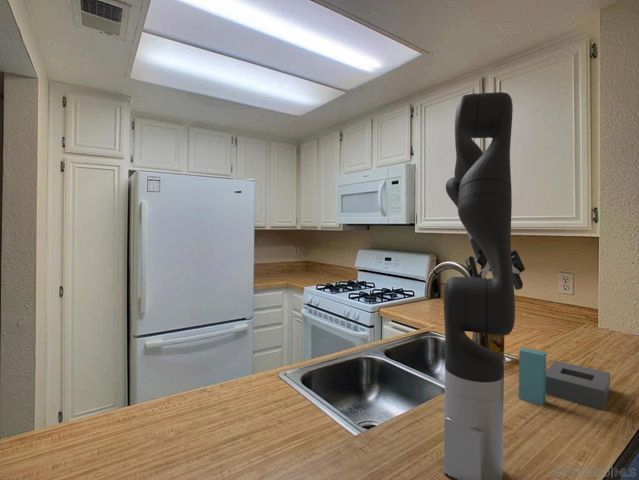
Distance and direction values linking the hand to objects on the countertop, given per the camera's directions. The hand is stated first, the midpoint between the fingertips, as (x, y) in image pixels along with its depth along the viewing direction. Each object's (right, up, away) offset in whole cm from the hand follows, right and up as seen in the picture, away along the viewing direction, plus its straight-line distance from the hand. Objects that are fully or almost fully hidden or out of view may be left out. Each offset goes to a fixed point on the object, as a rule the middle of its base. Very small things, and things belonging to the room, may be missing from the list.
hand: (504, 291), depth 89 cm
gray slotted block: (+17, -25, -2) cm, 31 cm away
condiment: (+7, -25, +22) cm, 34 cm away
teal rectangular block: (+3, -25, -7) cm, 26 cm away
